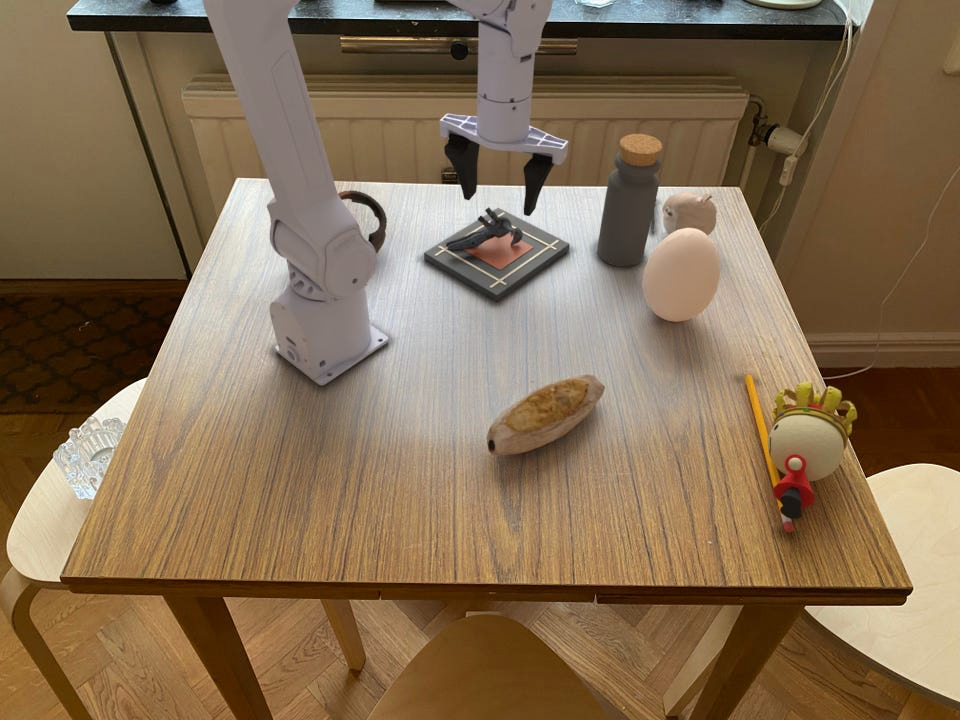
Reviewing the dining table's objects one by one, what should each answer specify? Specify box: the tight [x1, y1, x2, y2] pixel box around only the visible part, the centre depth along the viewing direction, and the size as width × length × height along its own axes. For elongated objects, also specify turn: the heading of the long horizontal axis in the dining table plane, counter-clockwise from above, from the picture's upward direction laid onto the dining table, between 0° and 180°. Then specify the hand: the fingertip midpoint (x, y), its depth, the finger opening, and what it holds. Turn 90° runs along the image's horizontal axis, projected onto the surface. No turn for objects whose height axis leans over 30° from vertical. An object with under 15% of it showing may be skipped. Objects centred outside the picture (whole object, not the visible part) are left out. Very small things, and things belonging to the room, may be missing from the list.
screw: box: [650, 200, 657, 233], centre depth 95 cm, size 8×1×1 cm
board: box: [423, 207, 571, 303], centre depth 88 cm, size 14×12×1 cm
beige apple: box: [662, 191, 718, 237], centre depth 89 cm, size 7×6×8 cm
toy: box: [768, 381, 858, 520], centre depth 64 cm, size 7×7×15 cm
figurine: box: [445, 206, 523, 250], centre depth 87 cm, size 12×10×5 cm
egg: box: [642, 228, 721, 323], centre depth 77 cm, size 8×8×11 cm
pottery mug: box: [337, 189, 388, 255], centre depth 87 cm, size 12×10×8 cm
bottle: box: [596, 133, 663, 267], centre depth 84 cm, size 6×6×15 cm
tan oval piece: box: [486, 374, 606, 457], centre depth 67 cm, size 5×14×4 cm, turn 126°
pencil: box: [744, 374, 795, 533], centre depth 67 cm, size 1×18×1 cm, turn 175°
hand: (499, 203), depth 83 cm, fingers open, 7 cm apart
